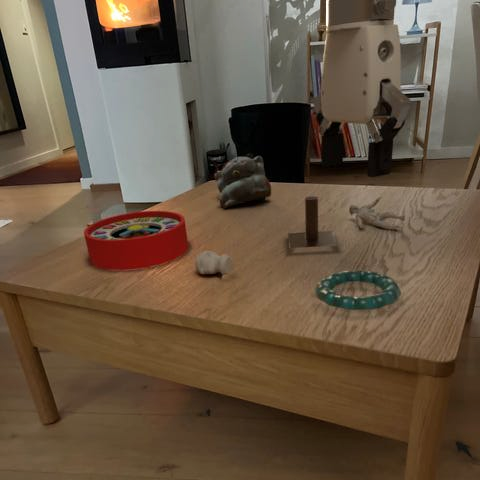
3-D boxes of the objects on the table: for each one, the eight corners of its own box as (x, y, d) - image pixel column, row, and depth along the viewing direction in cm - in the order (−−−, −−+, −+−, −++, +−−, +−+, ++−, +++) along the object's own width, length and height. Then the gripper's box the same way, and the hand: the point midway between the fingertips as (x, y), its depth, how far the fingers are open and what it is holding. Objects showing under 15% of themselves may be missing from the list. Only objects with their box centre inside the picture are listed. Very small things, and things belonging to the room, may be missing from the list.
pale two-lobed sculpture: (193, 278, 86) (213, 262, 88) (220, 289, 80) (241, 271, 82) (184, 258, 83) (205, 242, 85) (211, 268, 78) (233, 251, 80)
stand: (332, 236, 97) (333, 191, 93) (337, 251, 89) (338, 202, 85) (288, 238, 98) (287, 193, 94) (289, 253, 90) (288, 205, 86)
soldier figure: (387, 240, 95) (337, 215, 100) (389, 248, 100) (341, 224, 105) (409, 207, 95) (358, 184, 100) (410, 218, 100) (361, 195, 105)
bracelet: (389, 280, 76) (390, 266, 75) (408, 315, 65) (409, 299, 64) (313, 284, 77) (313, 270, 76) (319, 318, 66) (319, 303, 65)
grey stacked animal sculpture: (211, 210, 122) (200, 157, 122) (230, 216, 133) (220, 168, 133) (265, 192, 116) (253, 137, 116) (280, 200, 127) (269, 150, 127)
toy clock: (129, 208, 107) (203, 213, 98) (134, 233, 110) (206, 241, 101) (61, 235, 92) (141, 245, 83) (69, 263, 95) (147, 276, 85)
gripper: (443, 2, 48) (425, 175, 56) (341, 22, 62) (338, 158, 70) (385, 4, 45) (374, 185, 53) (291, 24, 60) (294, 165, 68)
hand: (354, 169), depth 62 cm, fingers open, 9 cm apart
